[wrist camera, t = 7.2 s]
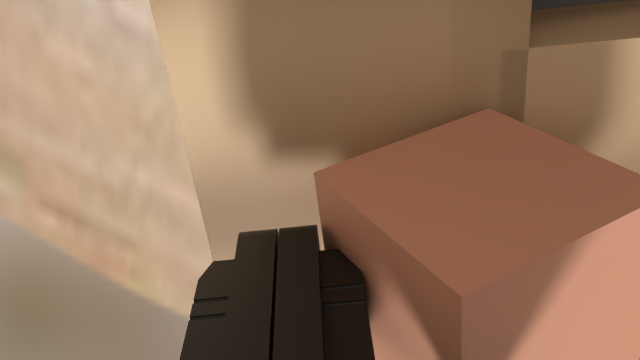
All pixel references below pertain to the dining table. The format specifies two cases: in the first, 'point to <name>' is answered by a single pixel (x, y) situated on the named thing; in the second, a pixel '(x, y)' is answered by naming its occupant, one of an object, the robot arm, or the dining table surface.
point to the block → (490, 244)
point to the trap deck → (380, 87)
